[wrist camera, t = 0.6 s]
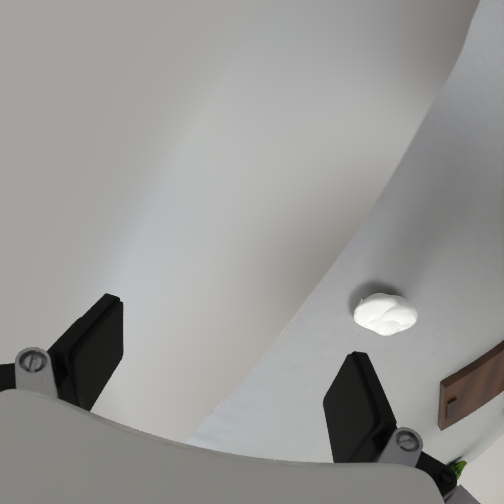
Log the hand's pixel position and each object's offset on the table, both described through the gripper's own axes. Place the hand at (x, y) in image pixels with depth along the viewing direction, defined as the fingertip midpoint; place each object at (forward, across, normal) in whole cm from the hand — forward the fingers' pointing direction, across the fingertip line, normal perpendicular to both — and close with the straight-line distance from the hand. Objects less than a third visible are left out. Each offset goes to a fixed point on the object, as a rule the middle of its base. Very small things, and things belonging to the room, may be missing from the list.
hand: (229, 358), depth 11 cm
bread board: (+16, -42, +12) cm, 46 cm away
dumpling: (+16, -14, +3) cm, 21 cm away
